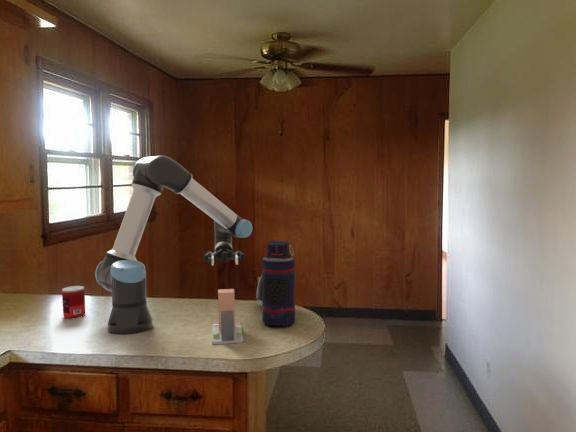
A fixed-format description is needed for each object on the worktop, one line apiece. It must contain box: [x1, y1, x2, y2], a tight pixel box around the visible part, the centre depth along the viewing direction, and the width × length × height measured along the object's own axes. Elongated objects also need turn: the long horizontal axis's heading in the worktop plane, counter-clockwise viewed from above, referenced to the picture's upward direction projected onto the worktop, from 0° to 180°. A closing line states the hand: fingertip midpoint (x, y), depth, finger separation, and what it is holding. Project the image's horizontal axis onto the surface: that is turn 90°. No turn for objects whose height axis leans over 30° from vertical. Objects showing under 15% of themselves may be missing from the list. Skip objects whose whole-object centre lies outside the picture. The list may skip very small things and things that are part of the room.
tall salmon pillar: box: [212, 288, 242, 330], centre depth 162 cm, size 10×5×13 cm, turn 99°
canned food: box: [61, 285, 86, 320], centre depth 180 cm, size 8×8×11 cm
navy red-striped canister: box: [261, 240, 296, 329], centre depth 169 cm, size 14×12×30 cm
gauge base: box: [211, 324, 244, 345], centre depth 157 cm, size 10×15×2 cm, turn 9°
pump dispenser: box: [255, 274, 262, 307], centre depth 192 cm, size 10×10×15 cm
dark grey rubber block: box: [221, 311, 234, 341], centre depth 151 cm, size 4×3×9 cm
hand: (224, 261), depth 173 cm, fingers open, 8 cm apart
